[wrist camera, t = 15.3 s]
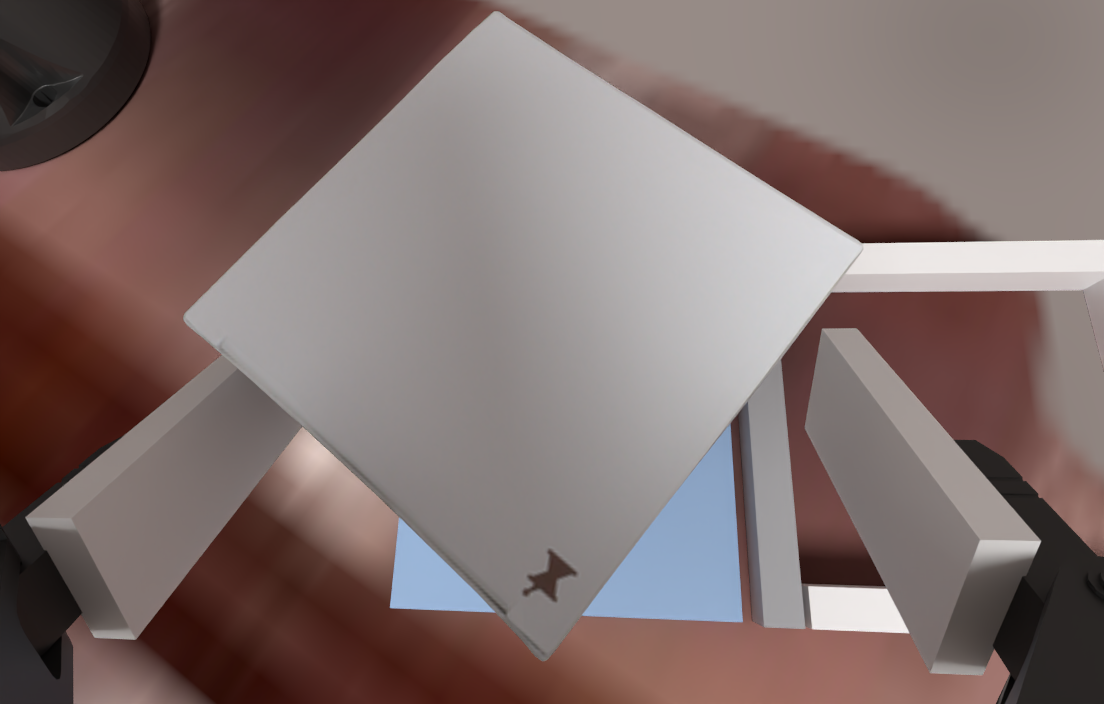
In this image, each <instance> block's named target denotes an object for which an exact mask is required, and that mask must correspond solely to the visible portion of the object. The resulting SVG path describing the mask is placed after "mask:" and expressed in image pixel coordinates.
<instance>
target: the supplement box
mask: <svg viewBox="0 0 1104 704" xmlns="http://www.w3.org/2000/svg"><path fill="white" fill-rule="evenodd" d="M863 250H864V249H863V244H862V243H861V242H859V241H858V240H856V239H855V238H853V237H852V236H850V235H848V234H847V233H845V232H843V231H842V230H840V229H838V228H837V227H835V226H833V225H832V224H830V223H829V222H827V221H826V220H824V219H823V218H821V217H819V216H818V215H816V214H815V213H813V212H811V211H810V210H808V209H807V208H805V207H803V206H802V205H800V204H799V203H797V202H795V201H794V200H792V199H790V198H789V197H787V196H786V195H784V194H782V193H781V192H779V191H778V190H776V189H774V188H773V187H771V186H770V185H768V184H767V183H765V182H763V181H762V180H760V179H759V178H757V177H756V176H754V175H752V174H751V173H749V172H748V171H746V170H745V169H743V168H741V167H740V166H738V165H737V164H735V163H734V162H732V161H730V160H729V159H727V158H726V157H724V156H723V155H721V154H719V153H718V152H716V151H715V150H713V149H712V148H710V147H709V146H707V145H705V144H704V143H702V142H701V141H699V140H698V139H696V138H694V137H693V136H691V135H690V134H688V133H687V132H685V131H683V130H682V129H680V128H679V127H677V126H676V125H674V124H673V123H671V122H669V121H668V120H666V119H665V118H663V117H662V116H660V115H659V114H657V113H655V112H654V111H652V110H651V109H649V108H648V107H646V106H644V105H643V104H641V103H640V102H638V101H637V100H635V99H633V98H632V97H630V96H628V95H627V94H625V93H624V92H622V91H620V90H619V89H617V88H615V87H614V86H612V85H611V84H609V83H608V82H606V81H605V80H603V79H601V78H600V77H598V76H597V75H595V74H594V73H592V72H591V71H589V70H587V69H586V68H584V67H582V66H581V65H579V64H578V63H576V62H574V61H573V60H571V59H570V58H568V57H567V56H565V55H564V54H562V53H561V52H559V51H557V50H556V49H554V48H553V47H551V46H550V45H548V44H547V43H545V42H544V41H542V40H541V39H539V38H538V37H536V36H535V35H533V34H531V33H530V32H528V31H527V30H525V29H524V28H522V27H521V26H519V25H518V24H516V23H515V22H513V21H511V20H510V19H508V18H507V17H506V16H504V15H503V14H502V13H500V12H499V11H494V12H492V13H491V14H490V15H489V16H488V17H487V18H486V19H485V20H484V21H483V22H481V23H480V24H479V25H478V26H477V27H476V28H475V29H473V30H472V31H471V32H470V33H469V34H468V35H467V36H466V37H465V38H464V39H463V40H462V41H461V42H460V43H459V44H458V45H457V46H456V47H455V48H454V49H453V50H452V51H450V52H449V53H448V54H447V55H446V56H445V57H444V58H443V59H442V60H441V61H440V62H439V63H438V64H437V65H436V66H435V67H434V68H433V69H432V70H431V71H430V72H429V73H428V74H427V75H426V76H425V77H424V78H423V79H422V80H421V81H420V82H419V83H418V84H417V85H416V86H415V87H414V88H413V89H412V90H411V91H410V92H409V93H408V94H407V95H406V96H405V97H404V98H403V99H402V100H401V101H400V102H399V103H398V104H397V105H396V106H395V107H394V108H393V109H392V110H391V111H390V112H389V113H388V114H387V115H386V116H385V117H384V118H383V119H382V120H381V121H380V122H379V123H378V124H377V125H376V126H375V127H374V128H373V129H372V130H371V131H370V132H369V133H368V134H367V135H366V136H365V137H364V138H363V139H362V140H361V141H360V142H358V143H357V144H356V145H355V146H354V147H353V148H352V149H351V150H350V151H349V152H348V153H347V154H346V155H345V156H344V157H343V158H342V159H341V160H340V161H339V162H338V163H337V164H336V165H335V166H334V167H333V168H332V169H331V170H330V171H329V172H328V173H327V174H326V175H325V176H324V177H323V178H321V179H320V180H319V181H318V182H317V183H316V184H315V185H314V186H313V187H312V188H311V189H310V190H309V191H308V192H307V193H306V194H305V195H304V196H303V197H302V198H301V199H300V200H299V201H298V202H297V203H296V204H294V205H293V206H292V207H291V208H290V209H289V210H288V211H287V212H286V213H285V214H284V215H283V216H282V217H281V218H280V219H279V220H278V221H277V222H276V223H275V224H274V225H273V226H272V227H271V228H270V229H269V230H268V231H267V232H266V233H265V234H264V235H263V236H262V237H261V238H260V239H259V240H258V241H257V242H256V243H255V244H254V245H253V246H252V247H251V248H250V249H249V250H248V251H247V252H246V253H245V254H244V255H243V256H242V257H241V258H240V259H239V260H238V261H237V262H236V263H235V264H234V265H233V266H232V267H231V268H230V269H229V270H228V271H227V272H226V273H225V274H224V275H223V276H222V277H221V278H220V279H219V280H218V281H217V282H216V283H215V284H214V285H213V286H212V287H211V288H210V289H209V290H208V291H207V292H206V293H205V294H204V295H203V296H202V297H201V298H200V299H199V300H198V301H197V302H196V303H195V304H194V305H193V306H191V307H190V308H189V309H188V310H187V311H186V312H185V314H184V317H183V320H184V322H185V323H186V324H187V326H189V327H190V328H191V329H192V330H194V331H195V332H196V333H197V334H199V335H200V336H201V337H202V338H203V339H205V340H206V341H207V342H208V343H209V344H210V345H211V346H213V347H214V348H215V349H216V350H217V351H218V352H220V353H221V354H222V355H223V356H224V357H225V358H226V359H228V360H229V361H230V362H231V363H232V364H233V365H234V366H236V367H237V368H238V369H239V370H240V371H241V372H242V373H244V374H245V375H246V376H247V377H248V378H249V379H250V380H252V381H253V382H254V383H255V384H256V385H257V386H258V387H259V388H260V389H261V390H262V391H264V392H265V393H266V394H267V395H268V396H269V397H270V398H271V399H272V400H273V401H275V402H276V403H277V404H278V405H279V406H280V407H281V408H282V409H283V410H284V411H285V412H287V413H288V414H289V415H290V416H291V417H292V418H293V419H295V420H296V421H297V422H298V423H299V424H300V425H301V426H303V427H304V428H305V429H306V430H307V431H308V432H309V433H310V434H311V435H312V436H314V437H315V438H316V439H317V440H318V441H319V442H320V443H321V444H322V445H323V446H324V447H325V448H326V449H328V450H329V451H330V452H331V453H332V454H333V455H334V456H335V457H336V458H337V459H338V460H339V461H341V462H342V463H343V464H344V465H345V466H346V467H347V468H348V469H349V470H350V471H351V472H352V473H353V474H355V475H356V476H357V477H358V478H359V479H360V480H361V481H362V482H363V483H364V484H365V485H366V486H368V487H369V488H370V489H371V490H372V491H373V492H374V493H375V494H376V495H377V496H378V497H379V498H380V499H381V500H382V501H383V502H384V503H385V504H386V505H387V506H388V507H389V508H390V509H391V510H392V511H394V512H395V513H396V514H397V515H398V516H399V517H400V518H401V519H402V520H403V521H404V522H405V523H406V524H407V525H408V526H409V527H410V528H411V529H412V530H413V531H414V532H415V533H416V534H417V535H418V536H419V537H420V538H421V539H422V540H423V541H424V542H425V543H426V544H427V545H428V546H429V547H430V548H431V549H432V550H434V551H435V552H436V553H437V554H438V555H439V556H440V557H441V558H442V559H443V560H444V561H445V562H446V563H447V564H448V565H449V566H450V567H451V568H452V569H453V570H454V571H455V572H456V573H457V574H458V575H459V576H460V577H461V578H462V579H463V580H464V581H465V582H466V583H467V584H468V585H469V586H470V587H471V588H472V589H473V590H474V591H475V592H477V593H478V595H479V596H480V597H481V598H482V599H483V600H484V601H485V602H486V603H487V604H488V605H489V606H490V607H491V608H492V609H493V610H494V611H495V612H496V613H497V615H498V616H499V617H500V618H501V619H502V620H503V621H504V622H505V623H506V624H507V625H508V626H509V627H510V628H511V629H512V630H513V631H514V632H515V633H516V635H517V636H518V637H519V638H520V639H521V640H522V641H523V642H524V643H525V644H526V646H527V647H528V648H529V649H530V651H531V652H532V653H533V654H534V655H535V656H536V657H537V658H538V659H540V660H541V661H545V660H548V658H549V657H550V656H551V655H552V654H553V653H554V651H555V650H556V649H557V648H558V646H559V645H560V644H561V642H562V641H563V640H564V638H565V637H566V636H567V634H568V633H569V632H570V630H571V629H572V628H573V626H574V625H575V624H576V622H577V621H578V620H579V618H580V617H581V616H582V614H583V613H584V612H585V610H586V609H587V608H588V606H589V605H590V604H591V602H592V601H593V600H594V598H595V597H596V596H597V594H598V593H599V592H600V590H601V589H602V588H603V587H604V585H605V584H606V583H607V581H608V580H609V579H610V577H611V576H612V575H613V573H614V572H615V571H616V569H617V568H618V567H619V565H620V564H621V563H622V562H623V560H624V559H625V558H626V556H627V555H628V554H629V552H630V551H631V550H632V549H633V547H634V546H635V545H636V543H637V542H638V541H639V539H640V538H641V537H642V535H643V534H644V533H645V532H646V530H647V529H648V528H649V526H650V525H651V524H652V522H653V521H654V520H655V518H656V517H657V516H658V515H659V513H660V512H661V511H662V509H663V508H664V507H665V506H666V504H667V503H668V502H669V500H670V499H671V498H672V497H673V495H674V494H675V493H676V492H677V490H678V489H679V488H680V486H681V485H682V484H683V483H684V481H685V480H686V479H687V477H688V476H689V475H690V474H691V472H692V471H693V470H694V469H695V467H696V466H697V465H698V463H699V462H700V461H701V460H702V458H703V457H704V456H705V455H706V453H707V452H708V451H709V450H710V448H711V447H712V446H713V445H714V443H715V442H716V441H717V440H718V438H719V437H720V436H721V434H722V433H723V432H724V431H725V429H726V428H727V427H728V426H729V424H730V423H731V422H732V421H733V419H734V418H735V417H736V416H737V414H738V413H739V412H740V411H741V409H742V408H743V407H744V405H745V404H746V403H747V402H748V400H749V399H750V398H751V396H752V395H753V394H754V393H755V391H756V390H757V389H758V388H759V386H760V385H761V384H762V382H763V381H764V380H765V379H766V377H767V376H768V375H769V374H770V372H771V371H772V370H773V368H774V367H775V366H776V365H777V363H778V362H779V361H780V359H781V358H782V357H783V355H784V354H785V353H786V351H787V350H788V349H789V348H790V346H791V345H792V344H793V342H794V341H795V340H796V338H797V337H798V336H799V334H800V333H801V332H802V330H803V329H804V328H805V326H806V325H807V324H808V322H809V321H810V320H811V318H812V317H813V316H814V314H815V313H816V312H817V310H818V309H819V308H820V306H821V305H822V304H823V302H824V301H825V300H826V298H827V297H828V296H829V294H830V293H831V292H832V290H833V289H834V288H835V286H836V285H837V284H838V283H839V281H840V280H841V279H842V277H843V276H844V275H845V273H846V272H847V271H848V270H849V268H850V267H851V266H852V264H853V263H854V262H855V260H856V259H857V258H858V256H859V255H860V254H861V252H862V251H863Z"/></svg>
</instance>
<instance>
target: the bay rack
mask: <svg viewBox="0 0 1104 704" xmlns="http://www.w3.org/2000/svg"><path fill="white" fill-rule="evenodd" d="M862 244H863V249H864V250H863V251H862V252H861V254H860V255H859V256H858V258H857V259H856V260H855V262H854V263H853V264H852V266H851V267H850V268H849V270H848V271H847V272H846V273H845V275H844V276H843V277H842V279H841V280H840V281H839V283H838V284H837V285H836V286H835V288H834V289H833V290H832V292H924V291H1044V290H1083V293H1084V297H1085V301H1086V305H1087V308H1088V312H1089V316H1090V320H1091V324H1092V327H1093V332H1094V336H1095V339H1096V343H1097V347H1098V351H1099V355H1100V358H1101V363H1102V366H1103V370H1104V240H1059V241H993V242H928V243H862ZM738 416H739V431H740V446H741V461H742V476H743V491H744V506H745V521H746V536H747V551H748V566H749V581H750V596H751V611H752V621H753V622H755V623H757V624H759V625H761V626H763V627H771V628H795V629H805V626H806V627H808V628H811V629H820V630H844V631H869V632H893V633H909V631H908V629H907V627H906V625H905V623H904V621H903V619H902V617H901V615H900V613H899V611H898V609H897V608H896V606H895V604H894V602H893V600H892V598H891V596H890V594H889V592H888V590H887V588H886V586H859V585H829V584H801V575H800V564H799V553H798V542H797V531H796V520H795V509H794V498H793V487H792V476H791V465H790V454H789V443H788V432H787V421H786V410H785V399H784V388H783V377H782V366H781V359H780V361H779V362H778V363H777V365H776V366H775V367H774V368H773V370H772V371H771V372H770V374H769V375H768V376H767V377H766V379H765V380H764V381H763V382H762V384H761V385H760V386H759V388H758V389H757V390H756V391H755V393H754V394H753V395H752V396H751V398H750V399H749V400H748V402H747V403H746V404H745V405H744V407H743V408H742V409H741V411H740V412H739V413H738ZM390 608H401V609H426V610H451V611H476V612H495V611H494V610H493V609H492V608H491V607H490V606H489V605H488V604H487V603H486V602H485V601H484V600H483V599H482V598H481V597H480V596H479V595H478V593H477V592H475V591H474V590H473V589H472V588H471V587H470V586H469V585H468V584H467V583H466V582H465V581H464V580H463V579H462V578H461V577H460V576H459V575H458V574H457V573H456V572H455V571H454V570H453V569H452V568H451V567H450V566H449V565H448V564H447V563H446V562H445V561H444V560H443V559H442V558H441V557H440V556H439V555H438V554H437V553H436V552H435V551H434V550H432V549H431V548H430V547H429V546H428V545H427V544H426V543H425V542H424V541H423V540H422V539H421V538H420V537H419V536H418V535H417V534H416V533H415V532H414V531H413V530H412V529H411V528H410V527H409V526H408V525H407V524H406V523H405V522H404V521H403V520H402V519H401V518H400V517H399V525H398V535H397V544H396V554H395V564H394V574H393V584H392V594H391V603H390ZM582 616H600V617H625V618H649V619H674V620H699V621H724V622H743V619H742V603H741V587H740V571H739V554H738V538H737V522H736V506H735V490H734V474H733V458H732V442H731V426H730V424H729V426H728V427H727V428H726V429H725V431H724V432H723V433H722V434H721V436H720V437H719V438H718V440H717V441H716V442H715V443H714V445H713V446H712V447H711V448H710V450H709V451H708V452H707V453H706V455H705V456H704V457H703V458H702V460H701V461H700V462H699V463H698V465H697V466H696V467H695V469H694V470H693V471H692V472H691V474H690V475H689V476H688V477H687V479H686V480H685V481H684V483H683V484H682V485H681V486H680V488H679V489H678V490H677V492H676V493H675V494H674V495H673V497H672V498H671V499H670V500H669V502H668V503H667V504H666V506H665V507H664V508H663V509H662V511H661V512H660V513H659V515H658V516H657V517H656V518H655V520H654V521H653V522H652V524H651V525H650V526H649V528H648V529H647V530H646V532H645V533H644V534H643V535H642V537H641V538H640V539H639V541H638V542H637V543H636V545H635V546H634V547H633V549H632V550H631V551H630V552H629V554H628V555H627V556H626V558H625V559H624V560H623V562H622V563H621V564H620V565H619V567H618V568H617V569H616V571H615V572H614V573H613V575H612V576H611V577H610V579H609V580H608V581H607V583H606V584H605V585H604V587H603V588H602V589H601V590H600V592H599V593H598V594H597V596H596V597H595V598H594V600H593V601H592V602H591V604H590V605H589V606H588V608H587V609H586V610H585V612H584V613H583V614H582Z"/></svg>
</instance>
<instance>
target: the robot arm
mask: <svg viewBox="0 0 1104 704" xmlns="http://www.w3.org/2000/svg"><path fill="white" fill-rule="evenodd" d="M150 40H151V36H150V25H149V21H148V17H147V14H146V12H145V10H144V8H143V6H142V4H141V3H140V1H139V0H0V171H6V170H14V169H19V168H24V167H27V166H31V165H35V164H38V163H41V162H44V161H46V160H49V159H51V158H53V157H56V156H58V155H60V154H62V153H64V152H66V151H68V150H70V149H71V148H73V147H75V146H77V145H78V144H80V143H81V142H83V141H84V140H86V139H87V138H89V137H90V136H91V135H93V134H94V133H95V132H96V131H98V130H99V129H100V128H101V127H102V126H104V125H105V124H106V123H107V122H108V121H109V120H110V119H111V118H112V117H113V116H114V115H115V114H116V113H117V112H118V111H119V109H120V108H121V107H122V106H123V105H124V103H125V102H126V101H127V99H128V98H129V97H130V95H131V94H132V92H133V91H134V89H135V87H136V85H137V84H138V82H139V80H140V78H141V76H142V73H143V71H144V69H145V66H146V63H147V59H148V55H149V50H150ZM301 427H302V426H301V425H300V424H299V423H298V422H297V421H296V420H295V419H293V418H292V417H291V416H290V415H289V414H288V413H287V412H285V411H284V410H283V409H282V408H281V407H280V406H279V405H278V404H277V403H276V402H275V401H273V400H272V399H271V398H270V397H269V396H268V395H267V394H266V393H265V392H264V391H262V390H261V389H260V388H259V387H258V386H257V385H256V384H255V383H254V382H253V381H252V380H250V379H249V378H248V377H247V376H246V375H245V374H244V373H242V372H241V371H240V370H239V369H238V368H237V367H236V366H234V365H233V364H232V363H231V362H230V361H229V360H228V359H226V358H225V357H224V356H223V355H221V356H220V357H219V358H218V359H216V360H215V361H214V362H213V363H212V364H210V365H209V366H208V367H207V368H205V369H204V370H203V371H202V372H201V373H199V374H198V375H197V376H196V377H195V378H193V379H192V380H191V381H190V382H189V383H187V384H186V385H185V386H184V387H182V388H181V389H180V390H179V391H178V392H176V393H175V394H174V395H173V396H172V397H170V398H169V399H168V400H167V401H166V402H164V403H163V404H162V405H161V406H159V407H158V408H157V409H156V410H155V411H153V412H152V413H151V414H150V415H149V416H147V417H146V418H145V419H144V420H143V421H141V422H140V423H139V424H138V425H136V426H135V427H134V428H133V429H132V430H130V431H129V432H128V433H127V434H126V435H124V436H122V437H120V438H118V439H116V440H114V441H113V442H111V443H109V444H107V445H105V446H103V447H101V448H100V449H98V450H97V451H96V452H95V453H93V454H92V455H91V456H90V457H88V458H87V459H86V460H85V461H84V462H82V463H81V464H80V465H79V468H78V469H74V470H72V471H71V472H70V473H69V474H68V475H66V476H65V477H64V478H63V479H62V482H61V483H56V484H55V485H54V486H53V487H51V488H50V489H49V490H48V491H47V492H45V493H44V494H43V495H42V496H40V497H39V498H38V499H37V500H35V501H34V502H33V503H32V504H31V505H29V506H28V507H27V508H26V509H24V510H23V511H22V512H21V513H19V514H18V515H17V516H16V517H15V518H13V519H12V520H11V521H10V522H8V523H7V524H6V525H5V526H3V527H2V526H1V525H0V704H73V646H72V643H71V641H70V638H69V637H68V635H67V633H66V632H65V631H66V630H67V629H68V628H69V627H70V626H71V624H72V623H73V622H74V621H75V620H76V619H77V618H78V617H79V616H80V615H82V616H83V618H84V620H85V622H86V623H87V625H88V627H89V629H90V630H91V632H92V634H93V636H94V637H95V638H113V639H136V638H137V637H138V636H139V635H140V633H141V632H142V631H143V630H144V628H145V627H146V626H147V624H148V623H149V622H150V621H151V619H152V618H153V617H154V615H155V614H156V613H157V612H158V610H159V609H160V608H161V606H162V605H163V604H164V603H165V601H166V600H167V599H168V598H169V596H170V595H171V594H172V592H173V591H174V590H175V589H176V587H177V586H178V585H179V583H180V582H181V581H182V580H183V578H184V577H185V576H186V574H187V573H188V572H189V571H190V569H191V568H192V567H193V565H194V564H195V563H196V562H197V560H198V559H199V558H200V557H201V555H202V554H203V553H204V551H205V550H206V549H207V548H208V546H209V545H210V544H211V542H212V541H213V540H214V539H215V537H216V536H217V535H218V533H219V532H220V531H221V530H222V528H223V527H224V526H225V525H226V523H227V522H228V521H229V519H230V518H231V517H232V516H233V514H234V513H235V512H236V510H237V509H238V508H239V507H240V505H241V504H242V503H243V501H244V500H245V499H246V498H247V496H248V495H249V494H250V493H251V491H252V490H253V489H254V487H255V486H256V485H257V484H258V482H259V481H260V480H261V478H262V477H263V476H264V475H265V473H266V472H267V471H268V469H269V468H270V467H271V466H272V464H273V463H274V462H275V460H276V459H277V458H278V457H279V455H280V454H281V453H282V452H283V450H284V449H285V448H286V446H287V445H288V444H289V443H290V441H291V440H292V439H293V437H294V436H295V435H296V434H297V432H298V431H299V430H300V428H301ZM805 430H806V432H807V434H808V436H809V438H810V440H811V442H812V443H813V445H814V447H815V449H816V451H817V453H818V455H819V457H820V459H821V461H822V463H823V465H824V467H825V469H826V471H827V473H828V475H829V477H830V479H831V481H832V483H833V484H834V486H835V488H836V490H837V492H838V494H839V496H840V498H841V500H842V502H843V504H844V506H845V508H846V510H847V512H848V514H849V516H850V518H851V520H852V522H853V524H854V526H855V527H856V529H857V531H858V533H859V535H860V537H861V539H862V541H863V543H864V545H865V547H866V549H867V551H868V553H869V555H870V557H871V559H872V561H873V563H874V565H875V567H876V568H877V570H878V572H879V574H880V576H881V578H882V580H883V582H884V584H885V586H886V588H887V590H888V592H889V594H890V596H891V598H892V600H893V602H894V604H895V606H896V608H897V609H898V611H899V613H900V615H901V617H902V619H903V621H904V623H905V625H906V627H907V629H908V631H909V633H910V635H911V637H912V639H913V641H914V643H915V645H916V647H917V649H918V651H919V652H920V654H921V656H922V658H923V660H924V662H925V664H926V666H927V668H928V670H929V672H930V673H942V674H965V675H983V673H984V671H985V669H986V666H987V664H988V662H989V659H990V657H991V655H992V653H993V650H994V649H995V650H996V652H997V653H998V655H999V656H1000V658H1001V660H1002V661H1003V663H1004V664H1005V666H1006V667H1007V669H1008V671H1009V672H1010V675H1009V677H1008V679H1007V681H1006V683H1005V686H1004V688H1003V690H1002V692H1001V694H1000V696H999V698H998V700H997V703H996V704H1104V557H1100V556H1097V555H1096V554H1095V553H1094V552H1093V551H1092V550H1091V549H1090V548H1089V547H1088V546H1087V545H1086V544H1085V543H1084V542H1083V541H1082V539H1081V538H1080V537H1079V536H1078V535H1077V534H1076V533H1075V532H1074V531H1073V530H1072V529H1071V528H1070V527H1069V526H1068V525H1067V524H1066V523H1065V522H1064V521H1063V519H1062V518H1061V517H1060V516H1059V515H1058V514H1057V513H1056V512H1055V511H1054V510H1053V509H1052V508H1051V507H1050V506H1049V505H1048V504H1047V503H1046V502H1045V501H1044V500H1043V498H1039V497H1038V493H1037V492H1036V491H1035V490H1034V489H1033V488H1032V487H1031V486H1030V485H1029V484H1028V483H1027V482H1026V481H1023V480H1022V476H1021V475H1020V474H1019V473H1018V472H1017V471H1016V470H1015V469H1014V468H1013V467H1012V466H1011V465H1010V464H1009V463H1008V462H1007V461H1006V460H1005V458H1004V457H1002V456H1000V455H999V454H997V453H995V452H994V451H992V450H991V449H989V448H987V447H986V446H984V445H982V444H981V443H979V442H978V441H976V440H953V439H952V438H951V437H950V435H949V434H948V433H947V432H946V431H945V430H944V428H943V427H942V426H941V425H940V424H939V423H938V422H937V420H936V419H935V418H934V417H933V416H932V415H931V414H930V412H929V411H928V410H927V409H926V408H925V407H924V405H923V404H922V403H921V402H920V401H919V400H918V399H917V397H916V396H915V395H914V394H913V393H912V392H911V390H910V389H909V388H908V387H907V386H906V385H905V384H904V382H903V381H902V380H901V379H900V378H899V377H898V375H897V374H896V373H895V372H894V371H893V370H892V369H891V367H890V366H889V365H888V364H887V363H886V362H885V360H884V359H883V358H882V357H881V356H880V355H879V354H878V352H877V351H876V350H875V349H874V348H873V347H872V346H871V344H870V343H869V342H868V341H867V340H866V339H865V337H864V336H863V335H862V334H861V333H860V332H859V331H858V329H857V328H850V329H822V332H821V338H820V344H819V349H818V355H817V361H816V366H815V372H814V377H813V383H812V389H811V394H810V400H809V406H808V411H807V417H806V423H805Z"/></svg>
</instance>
